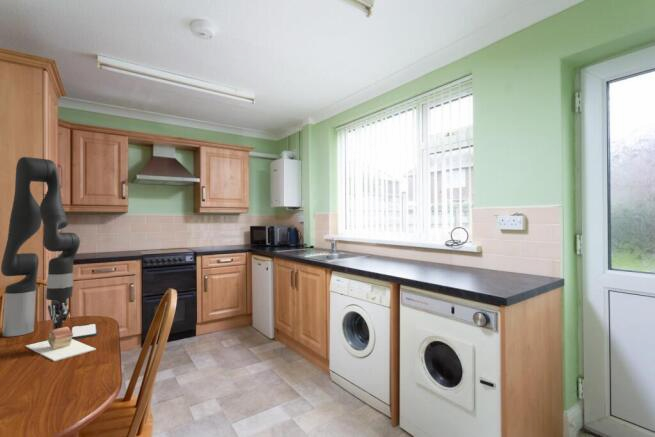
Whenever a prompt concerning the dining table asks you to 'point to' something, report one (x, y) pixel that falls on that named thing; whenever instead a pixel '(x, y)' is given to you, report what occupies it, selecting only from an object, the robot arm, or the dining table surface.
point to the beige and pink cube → (60, 337)
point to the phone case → (84, 331)
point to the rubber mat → (60, 350)
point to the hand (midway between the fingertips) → (57, 332)
